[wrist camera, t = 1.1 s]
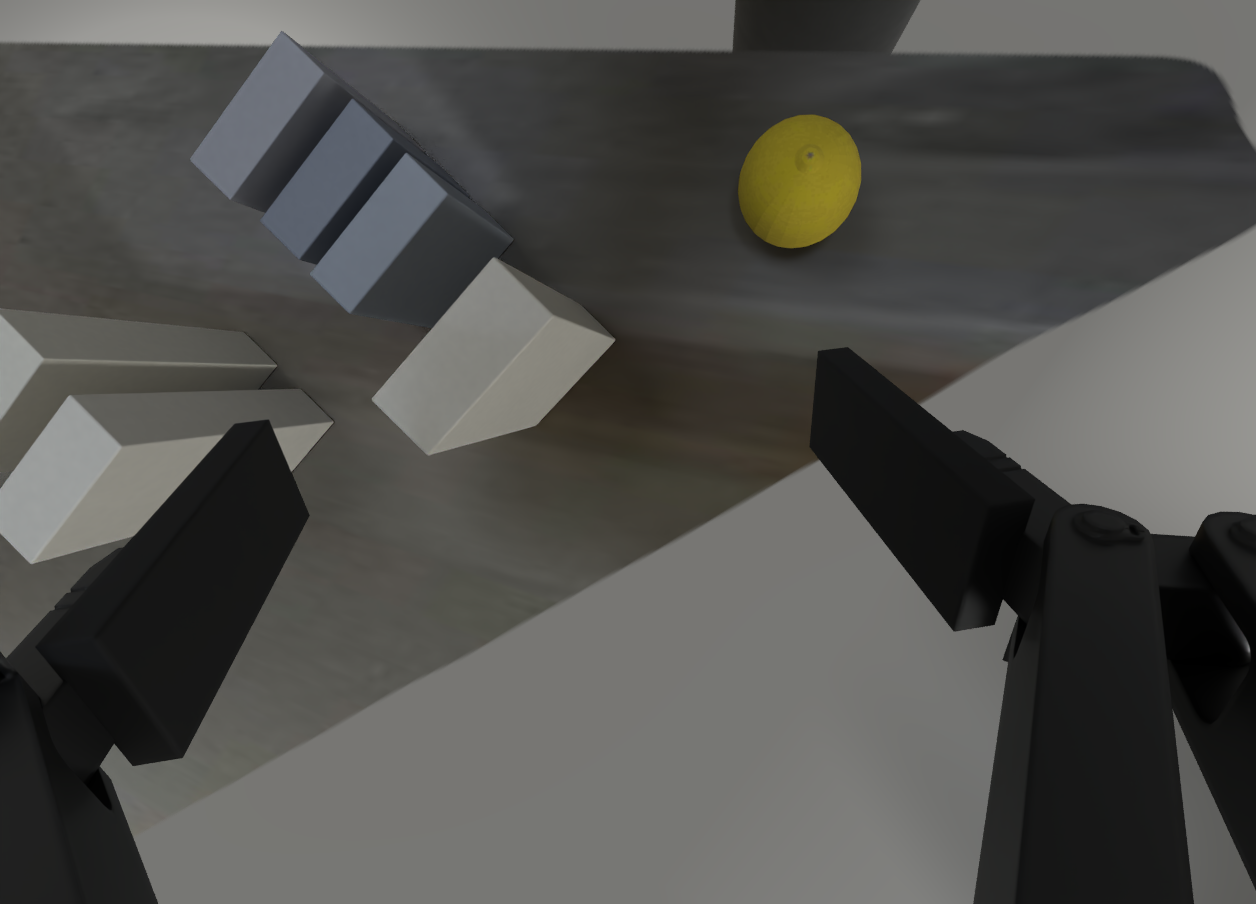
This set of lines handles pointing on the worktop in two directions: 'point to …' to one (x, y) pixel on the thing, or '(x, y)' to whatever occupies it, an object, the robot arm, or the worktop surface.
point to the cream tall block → (492, 362)
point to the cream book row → (122, 421)
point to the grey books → (348, 191)
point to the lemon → (799, 181)
